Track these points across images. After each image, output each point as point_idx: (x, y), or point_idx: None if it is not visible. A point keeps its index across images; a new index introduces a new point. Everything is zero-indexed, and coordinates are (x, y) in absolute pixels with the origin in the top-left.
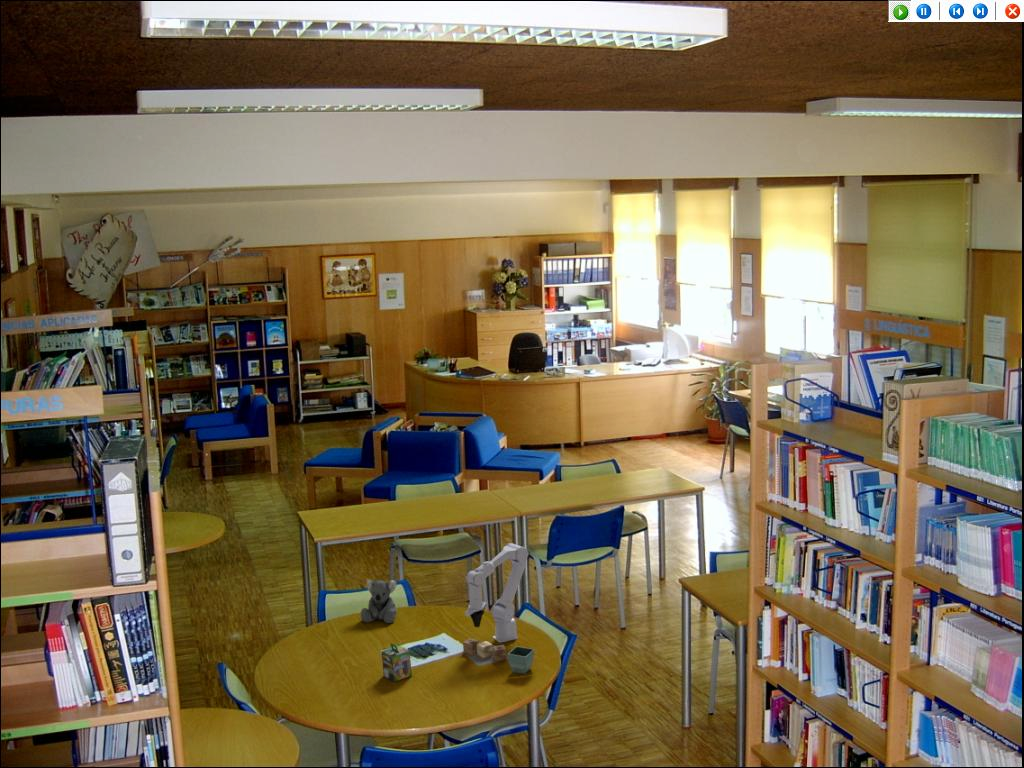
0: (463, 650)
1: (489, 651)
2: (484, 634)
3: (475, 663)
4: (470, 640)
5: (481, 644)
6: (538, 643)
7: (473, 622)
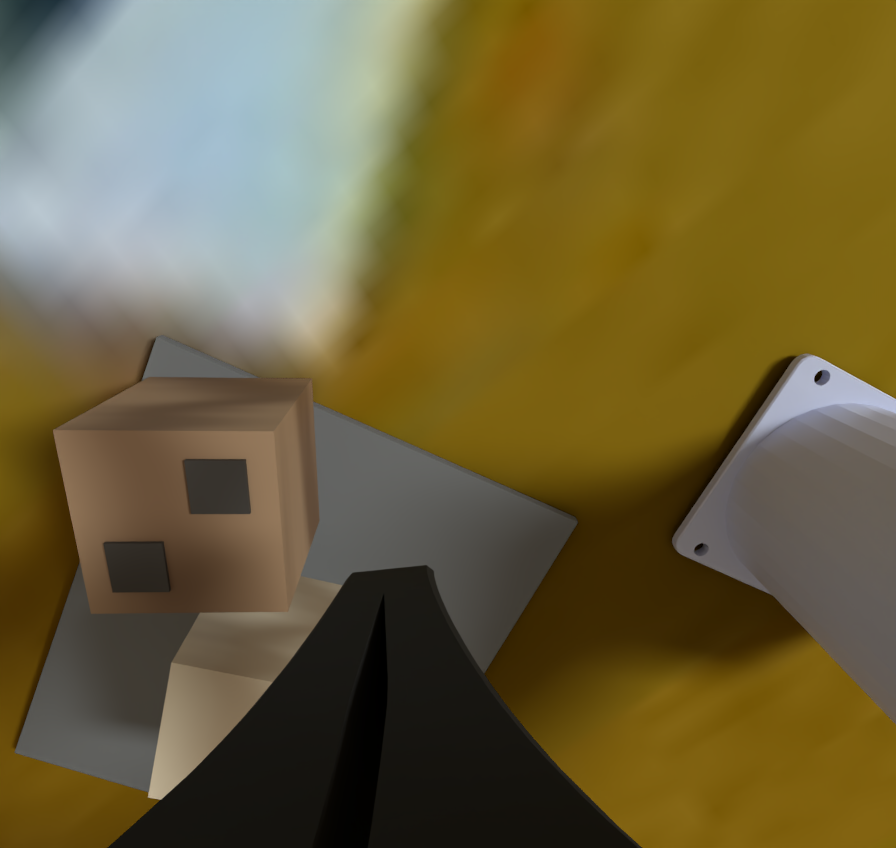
0: (134, 385)
1: None
2: (862, 167)
3: (37, 694)
4: (192, 503)
5: (208, 724)
6: (833, 825)
7: (306, 650)
